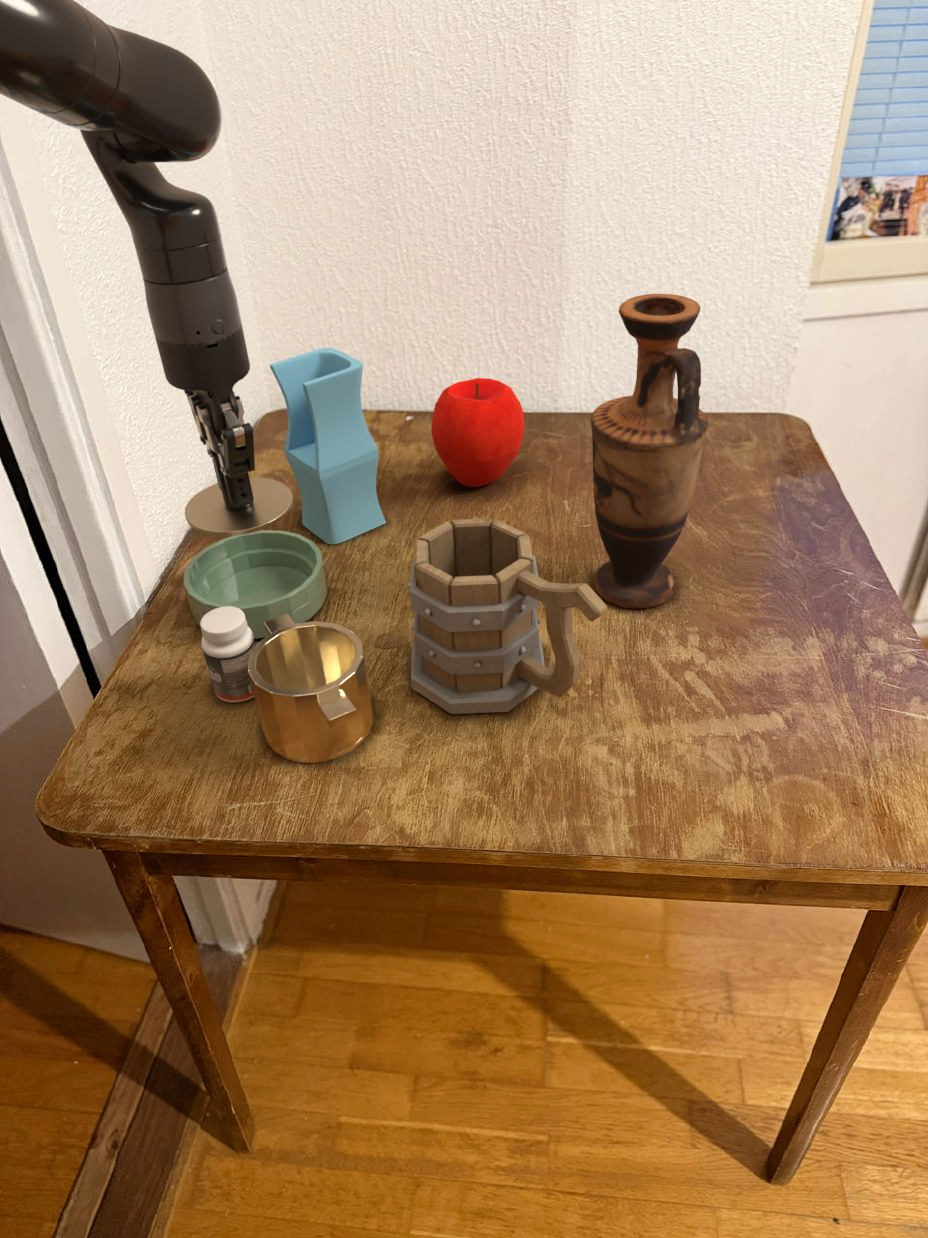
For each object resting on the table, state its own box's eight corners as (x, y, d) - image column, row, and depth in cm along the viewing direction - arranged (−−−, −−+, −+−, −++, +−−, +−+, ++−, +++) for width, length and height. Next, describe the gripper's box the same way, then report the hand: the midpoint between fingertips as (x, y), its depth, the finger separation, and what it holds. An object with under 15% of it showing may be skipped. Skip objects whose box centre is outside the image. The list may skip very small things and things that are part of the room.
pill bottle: (210, 680, 86) (190, 612, 81) (257, 665, 87) (241, 597, 82) (221, 710, 83) (200, 641, 77) (270, 694, 84) (253, 625, 79)
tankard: (385, 673, 86) (369, 543, 76) (475, 612, 93) (469, 487, 83) (544, 777, 74) (547, 639, 65) (632, 699, 81) (646, 565, 72)
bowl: (217, 660, 88) (207, 625, 86) (177, 589, 98) (167, 556, 96) (348, 612, 94) (343, 577, 91) (298, 549, 104) (292, 516, 101)
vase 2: (562, 579, 97) (571, 303, 78) (638, 547, 101) (663, 278, 83) (628, 630, 89) (655, 338, 71) (706, 593, 94) (751, 308, 75)
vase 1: (297, 521, 109) (268, 364, 97) (351, 498, 113) (329, 345, 100) (331, 547, 104) (305, 385, 92) (386, 523, 108) (368, 364, 95)
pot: (300, 800, 74) (284, 732, 69) (240, 695, 84) (222, 629, 79) (404, 753, 77) (396, 685, 72) (335, 658, 88) (323, 593, 83)
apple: (495, 513, 108) (492, 412, 100) (416, 491, 113) (407, 393, 105) (540, 472, 116) (541, 374, 108) (464, 453, 121) (459, 358, 113)
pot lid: (205, 553, 83) (189, 492, 79) (174, 505, 91) (157, 447, 87) (310, 520, 87) (300, 460, 83) (272, 476, 95) (261, 419, 91)
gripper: (135, 311, 81) (180, 479, 92) (177, 359, 71) (222, 540, 82) (214, 295, 84) (249, 459, 94) (265, 338, 74) (298, 516, 85)
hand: (237, 496), depth 88 cm, fingers closed on pot lid, 3 cm apart
